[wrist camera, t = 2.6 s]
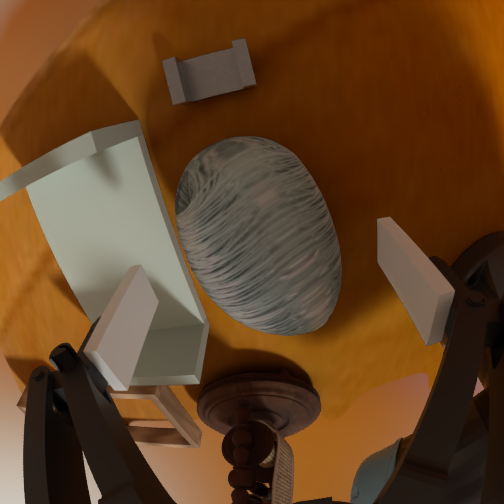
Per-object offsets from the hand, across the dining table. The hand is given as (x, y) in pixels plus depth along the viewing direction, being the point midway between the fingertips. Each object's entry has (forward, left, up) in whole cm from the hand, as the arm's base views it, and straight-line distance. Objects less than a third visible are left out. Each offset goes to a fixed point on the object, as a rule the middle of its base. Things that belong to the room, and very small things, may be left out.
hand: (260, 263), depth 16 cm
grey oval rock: (0, 0, -8) cm, 8 cm away
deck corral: (+23, +24, -7) cm, 34 cm away
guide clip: (+1, -11, -7) cm, 13 cm away
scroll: (+5, +23, -7) cm, 25 cm away
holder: (+13, 0, -7) cm, 15 cm away
